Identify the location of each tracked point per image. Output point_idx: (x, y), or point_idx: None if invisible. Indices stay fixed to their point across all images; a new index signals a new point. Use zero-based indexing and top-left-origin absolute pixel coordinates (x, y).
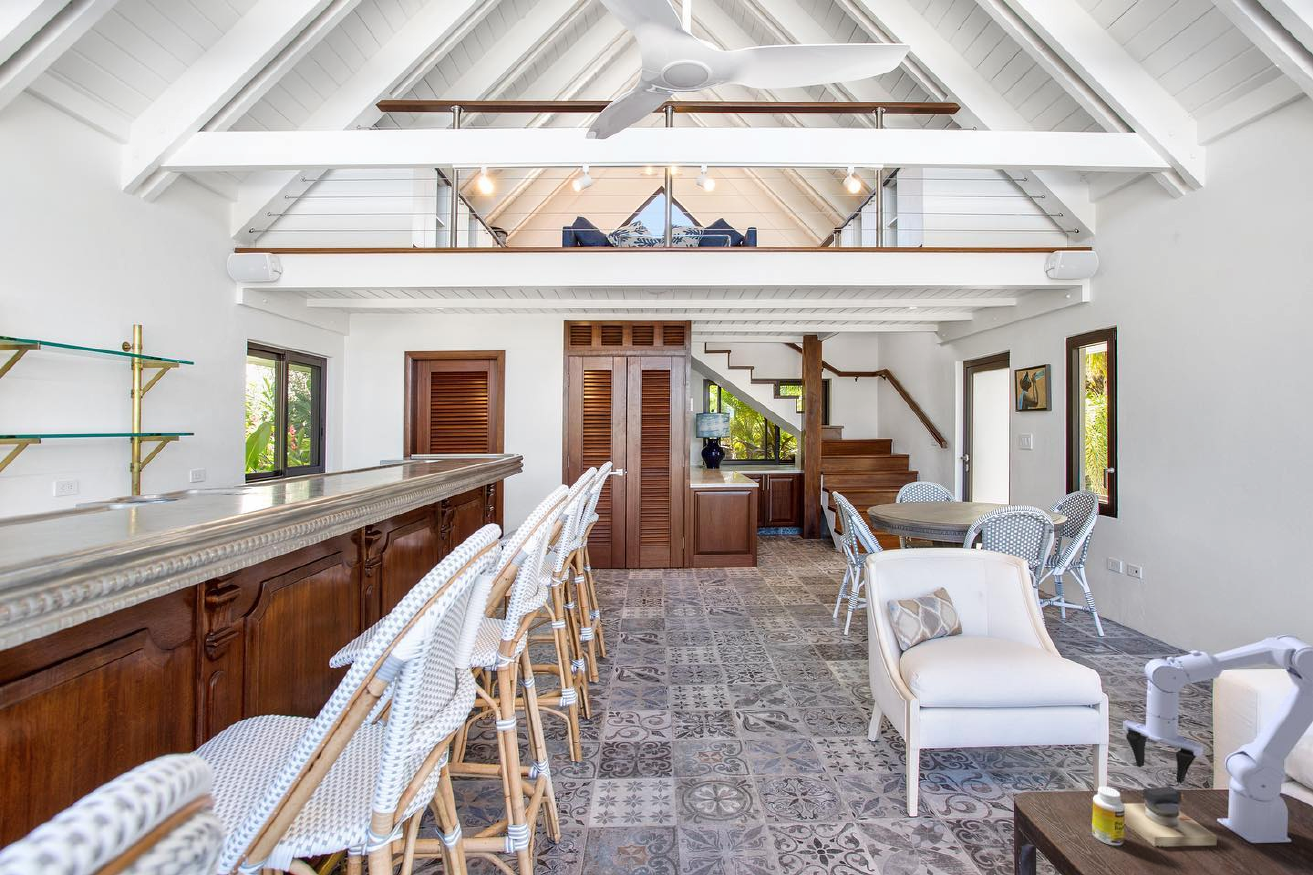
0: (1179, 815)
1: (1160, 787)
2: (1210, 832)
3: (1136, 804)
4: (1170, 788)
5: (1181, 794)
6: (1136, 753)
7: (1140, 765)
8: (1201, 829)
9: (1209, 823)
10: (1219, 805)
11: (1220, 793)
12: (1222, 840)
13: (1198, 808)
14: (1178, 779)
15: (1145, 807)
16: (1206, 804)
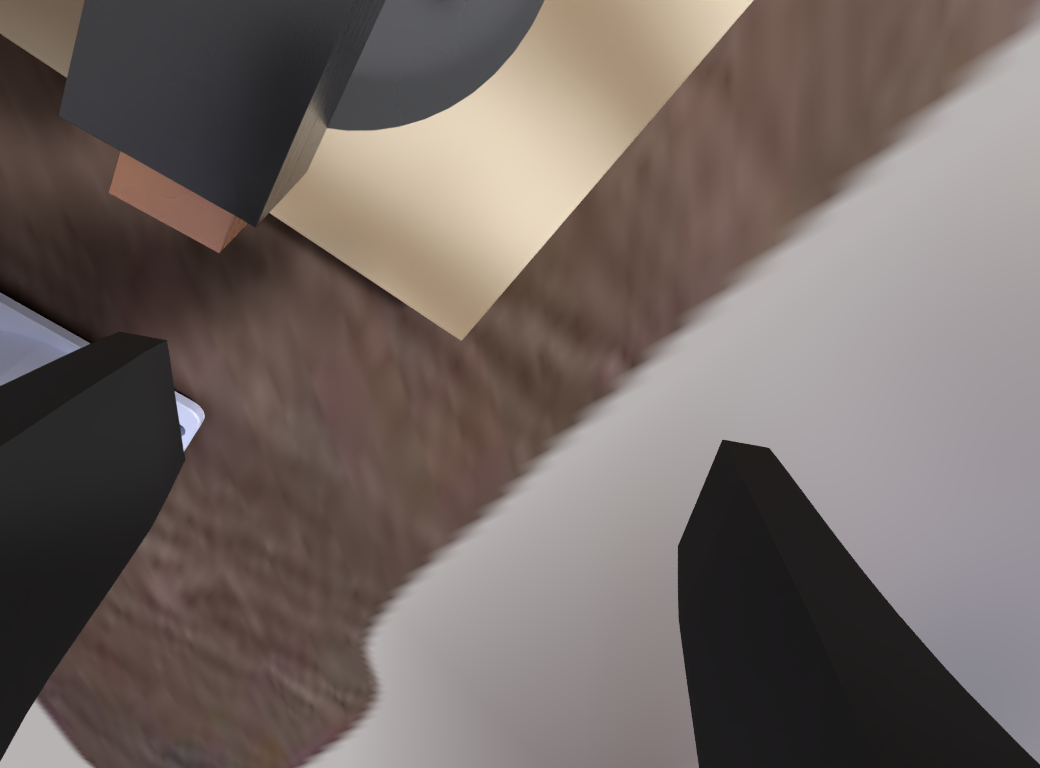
0: (315, 164)
1: (338, 38)
2: (7, 20)
3: (686, 43)
4: (229, 153)
5: (135, 181)
6: (859, 633)
7: (723, 469)
8: (77, 13)
9: (220, 342)
10: (286, 598)
11: (333, 706)
12: (44, 131)
13: (344, 493)
14: (106, 353)
15: (595, 53)
16: (333, 567)
